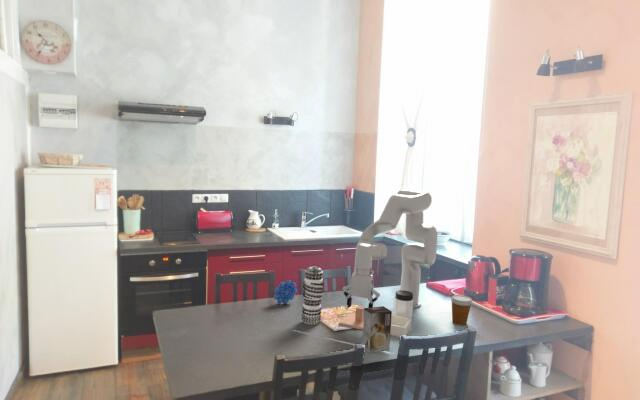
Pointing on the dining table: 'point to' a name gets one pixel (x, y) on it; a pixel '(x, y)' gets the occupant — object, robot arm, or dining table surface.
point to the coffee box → (376, 329)
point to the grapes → (285, 292)
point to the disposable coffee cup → (460, 309)
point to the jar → (403, 304)
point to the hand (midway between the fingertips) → (359, 309)
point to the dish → (400, 326)
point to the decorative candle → (312, 295)
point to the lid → (354, 319)
